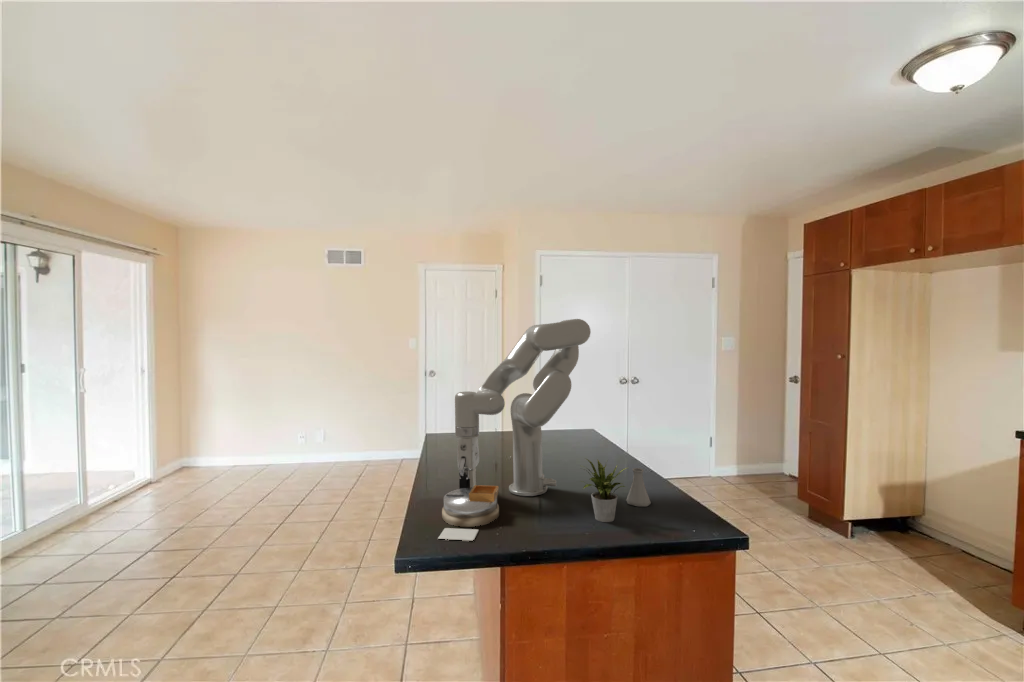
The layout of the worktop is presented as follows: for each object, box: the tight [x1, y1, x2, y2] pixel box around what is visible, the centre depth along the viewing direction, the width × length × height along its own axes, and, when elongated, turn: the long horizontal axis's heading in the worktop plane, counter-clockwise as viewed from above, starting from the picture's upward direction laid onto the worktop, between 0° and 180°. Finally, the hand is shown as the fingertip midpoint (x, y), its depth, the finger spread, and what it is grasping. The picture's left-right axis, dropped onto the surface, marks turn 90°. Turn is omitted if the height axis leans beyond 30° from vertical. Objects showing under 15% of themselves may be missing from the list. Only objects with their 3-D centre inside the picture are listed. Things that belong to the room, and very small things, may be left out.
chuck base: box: [441, 503, 500, 528], centre depth 123 cm, size 16×16×2 cm
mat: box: [437, 527, 479, 542], centre depth 111 cm, size 9×6×1 cm, turn 82°
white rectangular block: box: [464, 466, 477, 487], centre depth 137 cm, size 4×4×9 cm
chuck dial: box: [443, 484, 500, 518], centre depth 123 cm, size 15×15×5 cm
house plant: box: [581, 458, 628, 523], centre depth 120 cm, size 14×14×16 cm
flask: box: [625, 467, 652, 507], centre depth 130 cm, size 7×7×10 cm
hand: (468, 486), depth 137 cm, fingers open, 7 cm apart
